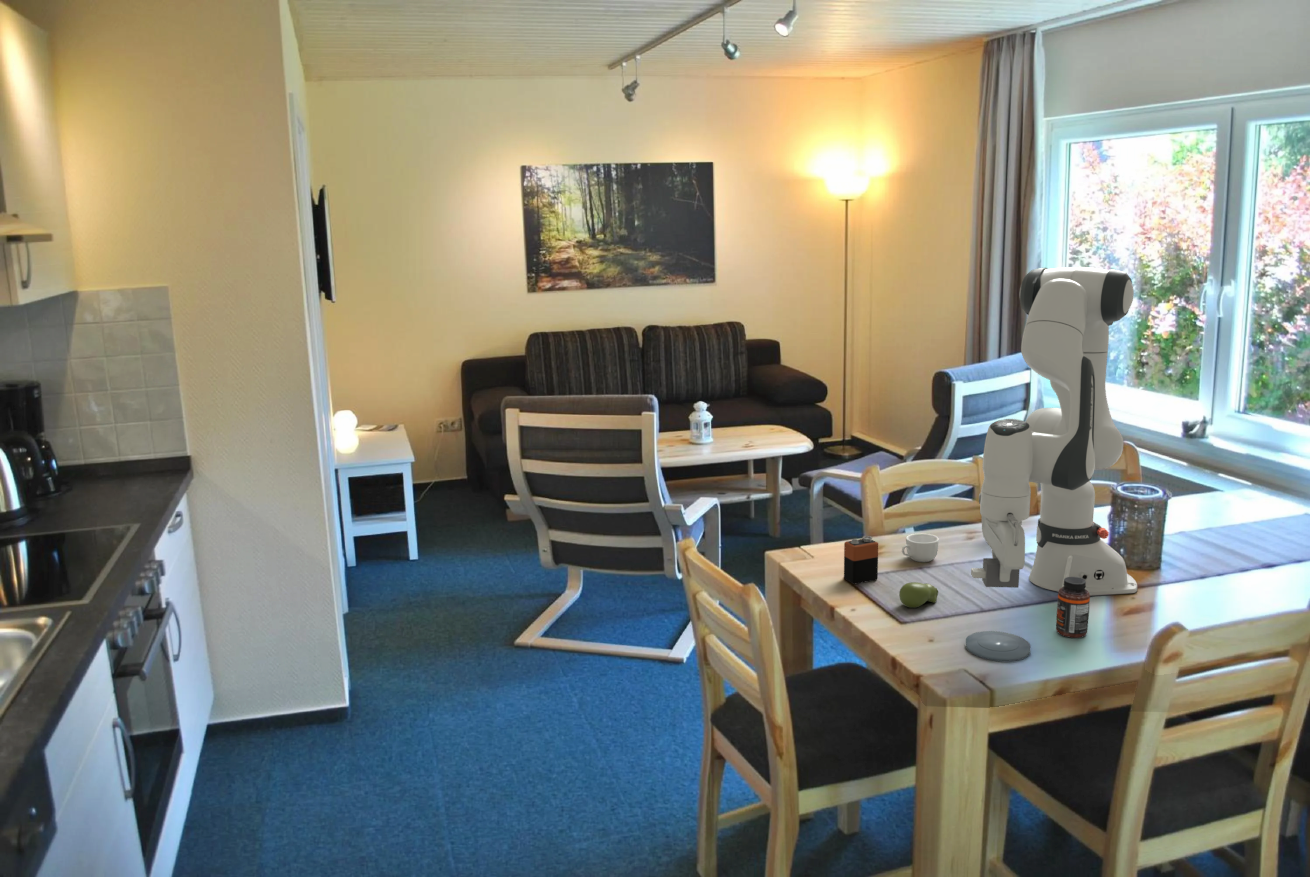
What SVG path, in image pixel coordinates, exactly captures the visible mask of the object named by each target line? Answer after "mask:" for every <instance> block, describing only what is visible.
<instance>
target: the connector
mask: <svg viewBox="0 0 1310 877" xmlns="http://www.w3.org/2000/svg"><path fill="white" fill-rule="evenodd" d="M982 560H983V562H982V567H978V568H977V567H971V569H970V575H971V577H972V579H981V581H982V583H983V584H984V586H985V587H986V588H1014V589H1015V588H1018V589H1019V586H1020V570H1021V569H1019V570H1013V569H1012V570H1011V572H1010V580H1009V581H1008V582H1001V581H1000V579H999V577H998V575H999V570H1000V561H999V560H998V559H994V558H987V557H986V558H983V559H982Z"/></svg>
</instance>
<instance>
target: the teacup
mask: <svg viewBox="0 0 1310 877" xmlns="http://www.w3.org/2000/svg"><path fill="white" fill-rule="evenodd" d="M939 542H940V538H939V537H938V536H937V535H934V534H932V533H921V532H919V533H918V532H917V533H912V534H908V535H907V536H906V537H905V544H904V545H903V547H902V548H901V554H903V555H904V556H906V557H909V558H910V559H912V561H915V562H917V563H930V562H931V561H932V560H934V559H935V558H936V556H937V555H938V551H939V550H938V549H939ZM905 550H906V552H905Z"/></svg>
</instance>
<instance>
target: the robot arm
mask: <svg viewBox="0 0 1310 877" xmlns="http://www.w3.org/2000/svg"><path fill="white" fill-rule="evenodd" d="M1134 294H1135V293H1134V286H1133V281H1132V279H1131V276H1130V275H1128V273H1127V272H1125V271H1121V270H1119V269H1118V270H1117V269H1112V268H1111V269H1109V270H1108V269H1103V268H1095V267H1087V266H1086V267H1085V266H1077V267H1055V268H1048V267H1041V268H1035V269H1032V270H1030V271H1029V272H1028V273H1026V275H1024V277H1023V278H1022V282H1021V284H1020V288H1019V303H1020V307H1021V309H1022V310H1023V312H1024V313H1026V315H1028V316H1027V318H1026V321H1025V326H1024V328H1023V329H1024V330H1023V333H1022V339H1021V346H1020V348H1021V350H1020V351H1021V355H1022V358H1023V360H1024V362H1025V363H1026V365H1027V366H1028V367H1029V368H1030V369H1031V370H1033V372H1035V373H1036V374H1037V375H1039V376H1041V377H1043V378H1045V379H1047V380H1049V382H1050V386H1051V387H1050V388H1051V389H1052V390H1053V391H1054V393H1055V394H1056V397H1057V399H1058V402H1059V406H1060V407H1041V408H1038V409H1036V410H1034V411H1032V412H1031V413H1030V414H1029V415H1028V417H1027V418H1026V420H1021V419H1017V418H1004V419H999V420H996V421H994V422H992V423H991V424H990V425H989V426H988V429H987V432H986V436H985V440H984V447H983V457H982V471H983V472H982V473H983V481H982V485H981V488H980V492H979V495H978V503H979V506H980V508H979V509H980V510H979V514H980V515H981V530H982V536H983V538H984V540H985V542H986V543H987V544H988V546H989V548H990V549H991V556H992V558H994V559H998V560H999V561H1000V570H999V575H998V577H999V579H1000V581H1001V582H1008V581H1009V580H1010V572H1011V570H1012V569H1013V570H1019V569H1020V570H1023V569H1024V567H1025V561H1026V559H1025V558H1026V557H1025V556H1026V536H1025V535H1026V533H1025V530H1024V528H1023V527H1022V525H1023V524H1022V523H1023V521H1026V520H1028V519H1029V518H1030V513H1031V512H1030V510H1031V508H1030V507H1031V496H1032V495H1031V494H1032V493H1031V492H1032V490H1031V486H1030V485H1031V484H1030V483H1033V484H1034V483H1035V484H1040V513H1039V516H1040V517H1039V518H1038V519H1037V526H1036V536H1035V537H1036V540H1035V541H1036V544H1037V546H1036V553H1035V556H1034V561H1033V565H1032V567H1031V571H1030V573H1029V574H1028V575H1029V576H1028V580H1029V581H1030V582H1031V583H1032V584H1034V585H1035V586H1037V587H1040V588H1042V589H1045V590H1049V591H1053V592H1058V591H1059V589H1060V588H1062V587H1064V579H1065V578H1067V577H1079V578H1082V579H1084V580H1085V581H1086V587H1085V589H1086V590H1087V591H1088V592H1089V593H1090V597H1092V596H1104V595H1106V596H1107V595H1124V594H1135V593H1137V591H1138V583H1137V581H1136V580H1135V578H1133V576H1131V575H1130V574H1128V572H1127V566H1126V562H1125V559H1124V558H1123V556H1121V555H1120V554H1119V552H1117V551H1116V550H1115V549H1114V548H1113V547H1112V546H1110V545H1109V544H1107V543H1106V542H1105V541H1104V540H1105V539H1107V538H1108V537H1109V535H1110V533H1109V531H1108V530H1107V529H1106V528H1104V527H1102V526H1101V525H1100V524H1098V523H1096V522H1095V521H1094V513H1095V511H1094V510H1095V499H1096V493H1095V492H1096V491H1095V488H1094V486H1093V485H1094V484H1092V482H1091V480H1092V478H1093V475H1094V472H1095V470H1105V469H1108V468H1110V467H1112V466H1114V465H1115V464H1116V463H1117V462H1118V461H1119V460H1120V458H1121V456H1122V453H1123V450H1124V438H1123V435H1122V434H1121V431H1119V429H1118V428H1117V426H1116V424H1115V422H1114V420H1113V418H1112V415H1111V412H1110V408H1109V405H1108V404H1109V403H1108V399H1107V391H1106V380H1107V379H1106V377H1107V366H1108V365H1107V364H1108V353H1109V342H1110V341H1109V337H1110V336H1109V335H1110V331H1109V327H1110V326H1112V325H1113V324H1114V323H1115V322H1118V321H1120V320H1121V319H1123V318H1124V317H1125V316H1126V315H1127V314H1128V313H1129V310H1130V308H1131V306H1132V304H1133V301H1134V296H1135V295H1134ZM1102 539H1103V540H1102Z"/></svg>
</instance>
